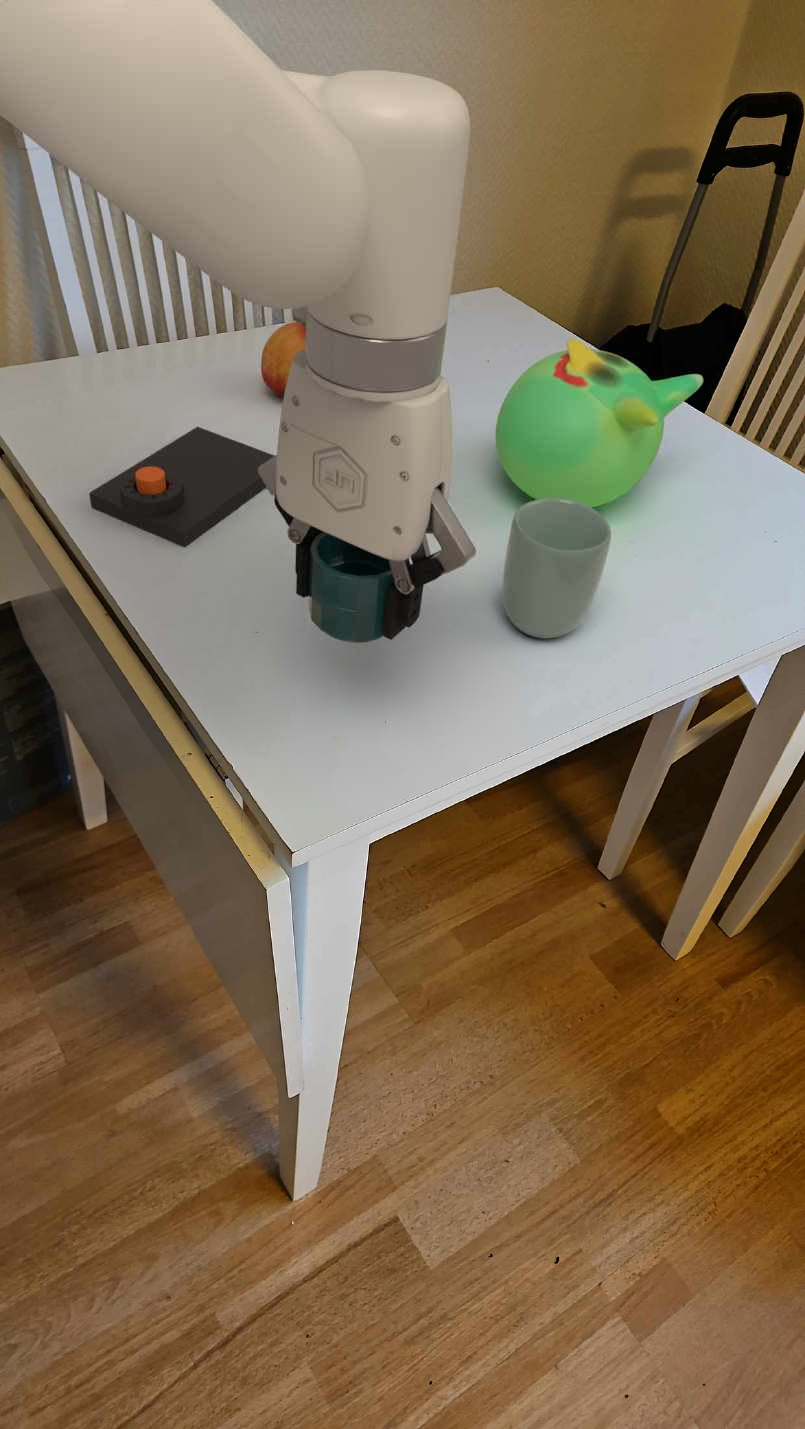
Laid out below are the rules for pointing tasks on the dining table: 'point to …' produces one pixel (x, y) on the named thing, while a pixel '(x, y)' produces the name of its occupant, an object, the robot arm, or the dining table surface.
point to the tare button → (150, 480)
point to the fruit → (281, 355)
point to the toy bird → (585, 424)
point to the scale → (186, 486)
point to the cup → (553, 565)
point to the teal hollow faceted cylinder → (347, 589)
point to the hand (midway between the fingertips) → (355, 605)
